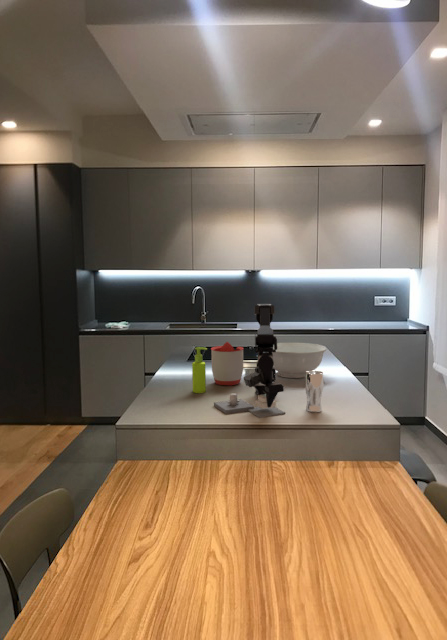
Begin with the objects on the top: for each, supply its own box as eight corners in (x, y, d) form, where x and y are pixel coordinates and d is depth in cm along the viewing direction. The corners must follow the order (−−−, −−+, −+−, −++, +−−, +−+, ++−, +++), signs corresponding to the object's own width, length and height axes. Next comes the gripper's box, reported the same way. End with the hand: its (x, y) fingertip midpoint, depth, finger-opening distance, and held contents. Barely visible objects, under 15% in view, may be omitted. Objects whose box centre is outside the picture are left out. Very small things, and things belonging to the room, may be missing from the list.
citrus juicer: (250, 380, 249) (250, 339, 246) (236, 388, 233) (235, 345, 231) (221, 377, 255) (220, 338, 253) (205, 385, 239) (205, 343, 237)
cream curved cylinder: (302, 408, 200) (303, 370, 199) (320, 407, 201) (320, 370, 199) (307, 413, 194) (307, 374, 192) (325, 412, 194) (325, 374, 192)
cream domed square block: (255, 405, 197) (255, 394, 197) (268, 403, 199) (268, 392, 199) (262, 408, 192) (262, 397, 192) (275, 406, 194) (275, 395, 194)
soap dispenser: (206, 393, 224) (205, 348, 222) (191, 392, 226) (190, 348, 223) (209, 390, 230) (208, 346, 228) (194, 389, 231) (193, 346, 229)
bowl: (307, 366, 279) (307, 340, 278) (337, 379, 249) (338, 349, 247) (252, 371, 270) (252, 343, 268) (277, 384, 239) (277, 354, 237)
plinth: (241, 402, 209) (240, 389, 209) (253, 410, 198) (253, 396, 198) (213, 405, 205) (213, 392, 204) (225, 413, 194) (225, 399, 193)
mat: (271, 406, 203) (271, 405, 203) (285, 413, 193) (285, 412, 193) (246, 409, 199) (246, 408, 199) (259, 417, 189) (259, 416, 189)
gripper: (236, 362, 199) (236, 401, 201) (257, 372, 182) (257, 414, 184) (261, 360, 204) (261, 398, 205) (284, 369, 186) (284, 410, 188)
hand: (265, 405), depth 196 cm, fingers closed on cream domed square block, 6 cm apart
